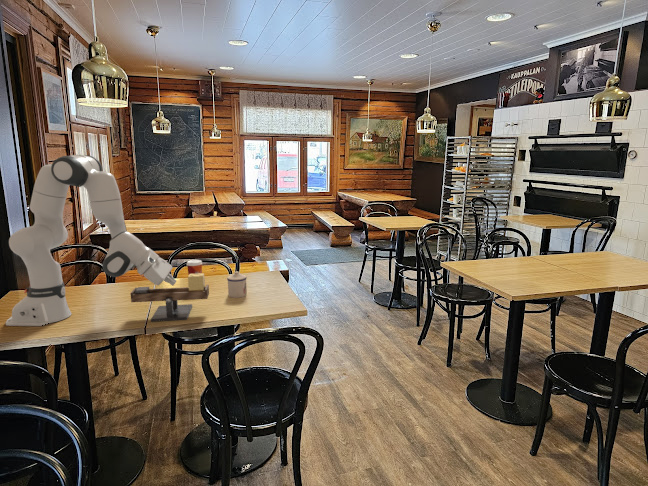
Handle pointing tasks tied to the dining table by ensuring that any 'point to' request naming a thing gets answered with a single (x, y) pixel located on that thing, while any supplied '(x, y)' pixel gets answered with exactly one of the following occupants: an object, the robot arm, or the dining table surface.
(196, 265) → the paper cup
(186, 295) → the beam
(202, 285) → the rider
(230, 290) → the teacup with lid
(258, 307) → the dining table surface
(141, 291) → the counterweight
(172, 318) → the stand
